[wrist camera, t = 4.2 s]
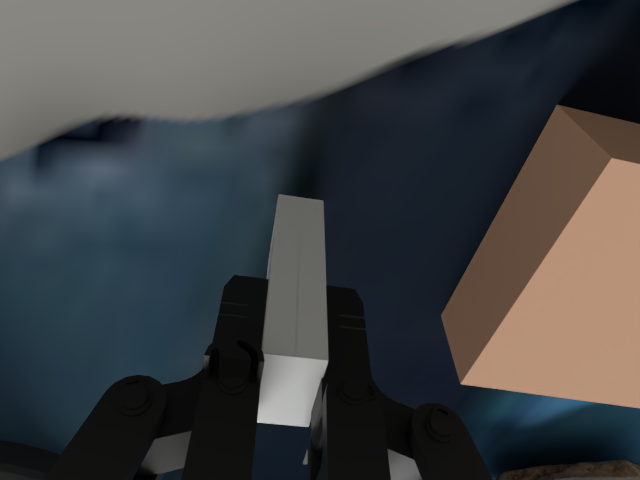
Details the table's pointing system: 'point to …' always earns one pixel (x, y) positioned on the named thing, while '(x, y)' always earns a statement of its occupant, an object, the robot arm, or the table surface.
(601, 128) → the tile
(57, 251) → the table surface
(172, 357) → the table surface
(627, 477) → the pottery fragment
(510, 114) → the table surface
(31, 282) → the table surface
